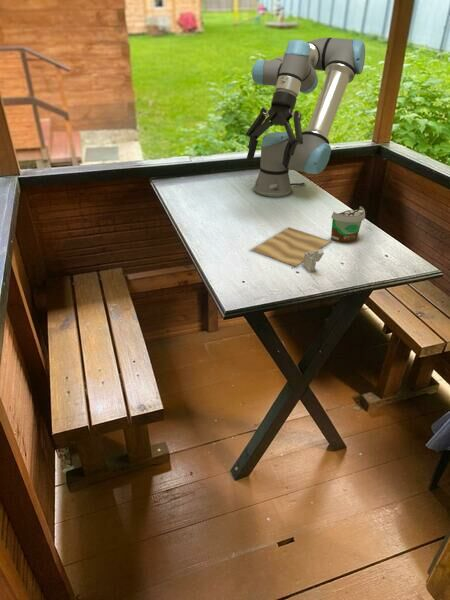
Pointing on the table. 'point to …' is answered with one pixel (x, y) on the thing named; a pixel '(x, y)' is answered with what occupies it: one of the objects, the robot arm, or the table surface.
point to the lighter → (312, 259)
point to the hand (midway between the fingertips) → (266, 162)
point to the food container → (346, 225)
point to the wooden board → (290, 246)
